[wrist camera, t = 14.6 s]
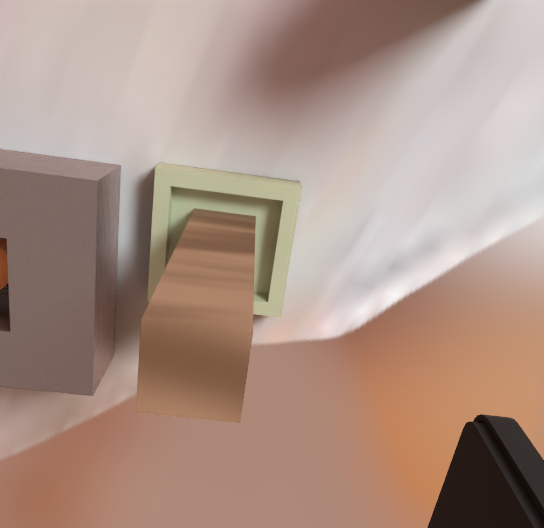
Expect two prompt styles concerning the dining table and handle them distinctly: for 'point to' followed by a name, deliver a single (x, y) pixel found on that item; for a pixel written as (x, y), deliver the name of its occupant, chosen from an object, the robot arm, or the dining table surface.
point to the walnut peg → (201, 322)
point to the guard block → (58, 271)
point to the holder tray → (233, 199)
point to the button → (3, 263)
